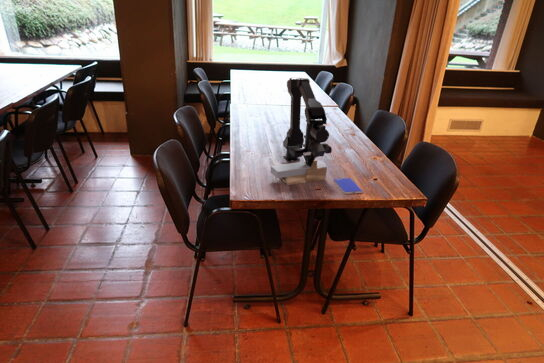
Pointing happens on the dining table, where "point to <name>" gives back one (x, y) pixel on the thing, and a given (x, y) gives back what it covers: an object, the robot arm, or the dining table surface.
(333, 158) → the dining table surface
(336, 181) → the hard drive
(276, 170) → the cover plate
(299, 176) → the birch box
